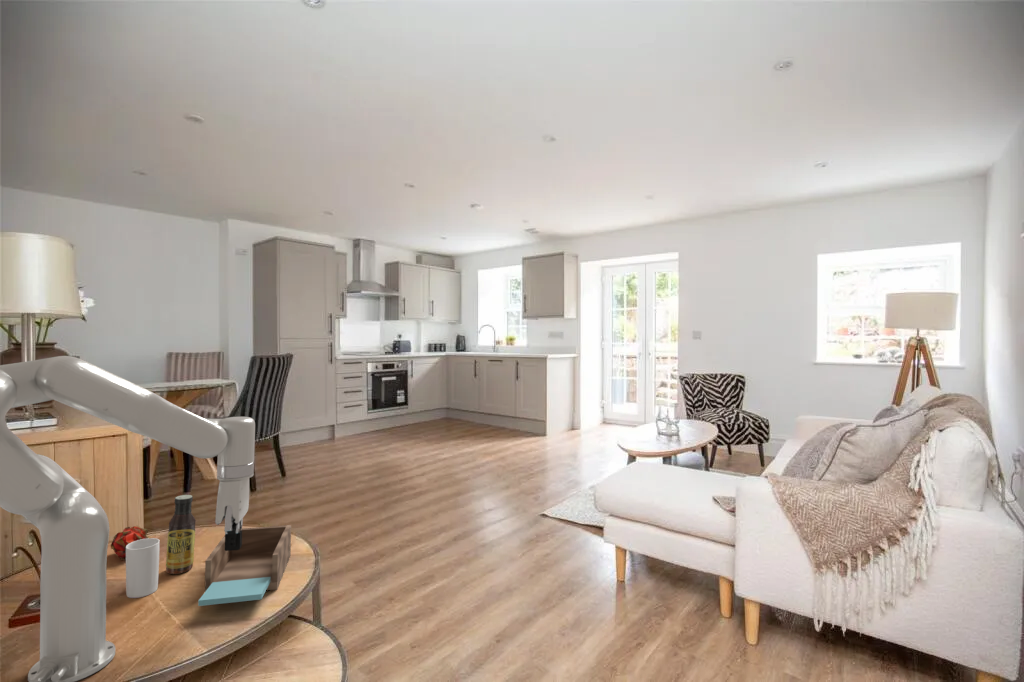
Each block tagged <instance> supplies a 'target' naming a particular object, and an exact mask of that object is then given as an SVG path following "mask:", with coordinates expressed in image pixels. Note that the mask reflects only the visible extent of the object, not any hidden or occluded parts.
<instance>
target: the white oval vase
mask: <svg viewBox="0 0 1024 682" xmlns="http://www.w3.org/2000/svg"><path fill="white" fill-rule="evenodd" d="M159 569H160V539H159V538H155V537H149V538H146V539H141V540H137V541H134V542H131V543H129V544H128V545H127V546H126V559H125V588H126V589H125V593H126V597H127V598H129V599H137V598H144V597H146V596H149V595H151V594H153V593H155V592H157V590H158V588H159V587H158V586H159V572H160V571H159Z"/></svg>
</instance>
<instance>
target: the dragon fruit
mask: <svg viewBox="0 0 1024 682" xmlns="http://www.w3.org/2000/svg"><path fill="white" fill-rule="evenodd" d="M148 531H149V530H148V529H147V528H143V527H141V526H140V525H134V526H127V527H124V529H123V530H122V531H120V532H118V533H116V534H115V535H114V536H113V539H112V542H111V544H110V549H111V550H113V552H114V554H115V555H116V556H117V557H118V558H119V559H120V560H122V561H126V546H127V545H128V544H129V543H131V542H134V541H137V540H141V539H146V538H150V537H148V536H147V533H148Z"/></svg>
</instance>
